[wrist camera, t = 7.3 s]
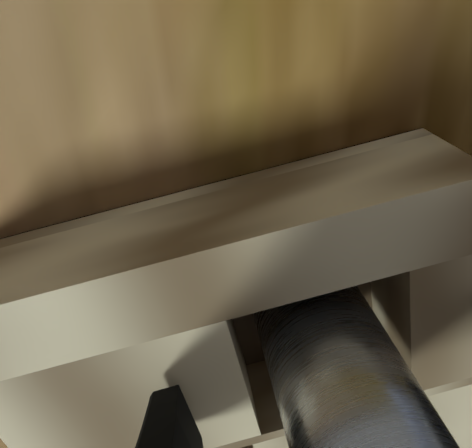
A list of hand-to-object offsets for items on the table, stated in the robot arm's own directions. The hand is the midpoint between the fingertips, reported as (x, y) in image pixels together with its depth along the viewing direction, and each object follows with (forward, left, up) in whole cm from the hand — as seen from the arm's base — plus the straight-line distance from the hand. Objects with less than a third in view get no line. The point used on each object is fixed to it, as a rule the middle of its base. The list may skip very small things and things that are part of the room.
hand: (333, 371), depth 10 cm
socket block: (+2, +2, -3) cm, 4 cm away
